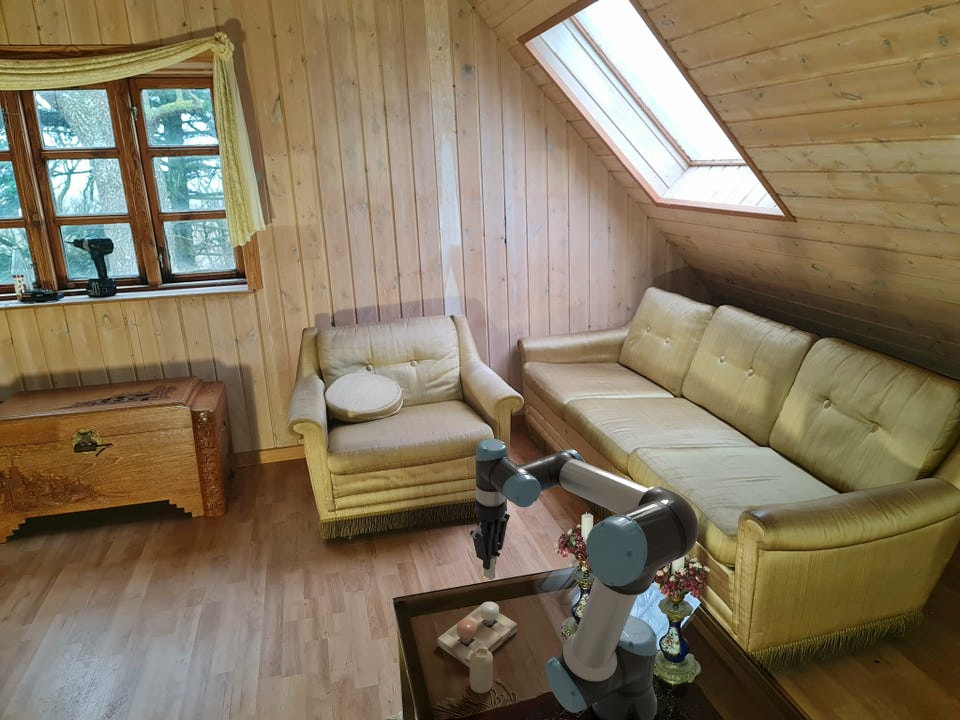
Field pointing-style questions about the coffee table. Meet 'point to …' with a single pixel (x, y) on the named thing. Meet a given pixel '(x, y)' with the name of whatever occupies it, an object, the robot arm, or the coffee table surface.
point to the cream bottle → (481, 670)
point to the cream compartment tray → (477, 636)
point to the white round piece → (489, 612)
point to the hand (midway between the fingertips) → (489, 576)
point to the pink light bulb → (466, 630)
